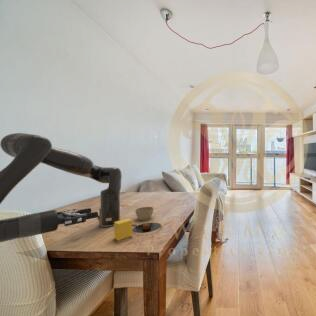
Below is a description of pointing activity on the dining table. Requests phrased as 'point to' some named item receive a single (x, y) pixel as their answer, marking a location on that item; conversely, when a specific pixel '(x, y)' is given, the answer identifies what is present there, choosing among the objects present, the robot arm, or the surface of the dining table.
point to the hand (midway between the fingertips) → (94, 212)
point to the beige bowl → (144, 213)
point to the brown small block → (146, 226)
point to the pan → (139, 229)
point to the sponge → (122, 229)
